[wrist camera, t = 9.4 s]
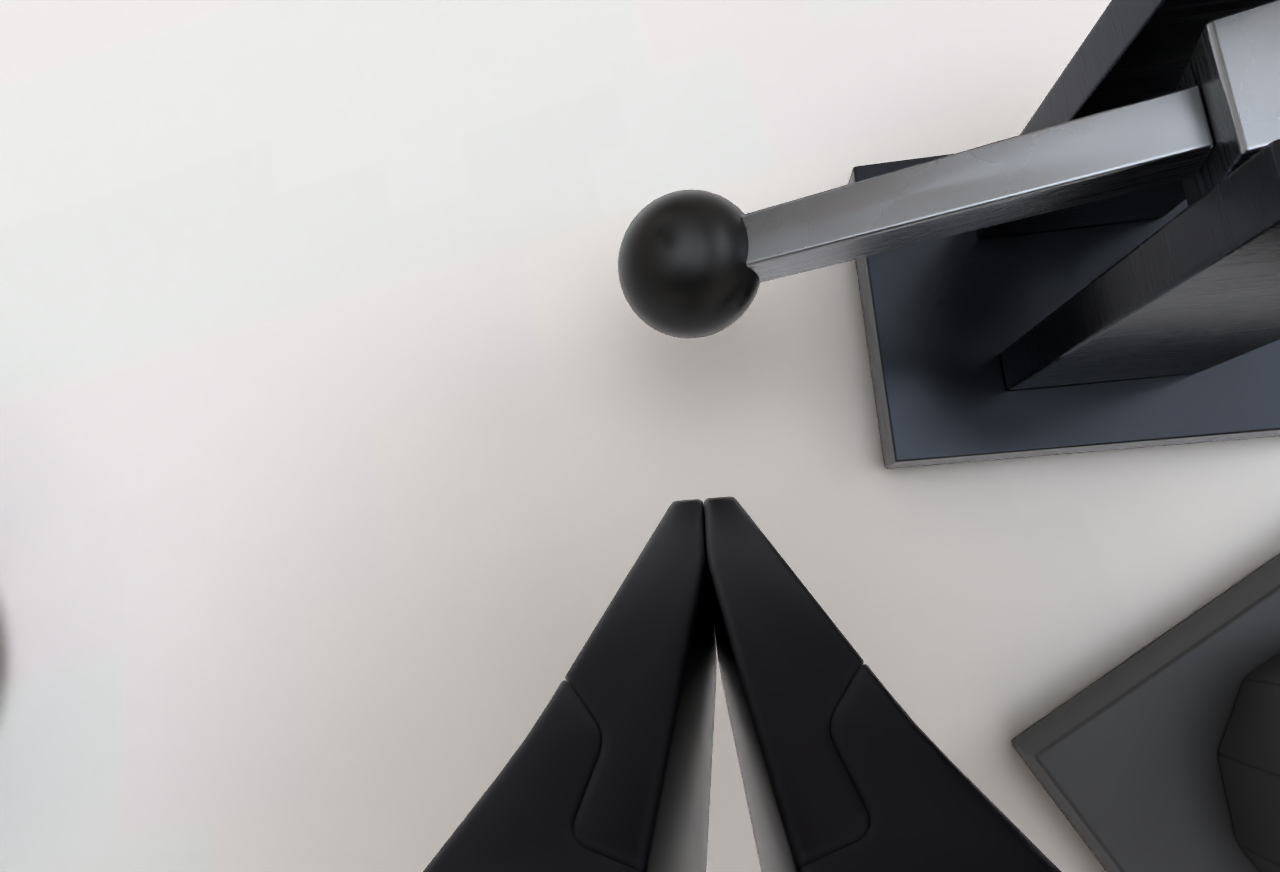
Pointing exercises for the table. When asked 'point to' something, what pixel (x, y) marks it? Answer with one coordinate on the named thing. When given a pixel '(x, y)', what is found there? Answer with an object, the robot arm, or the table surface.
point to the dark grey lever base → (1087, 293)
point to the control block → (1177, 744)
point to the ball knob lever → (962, 186)
